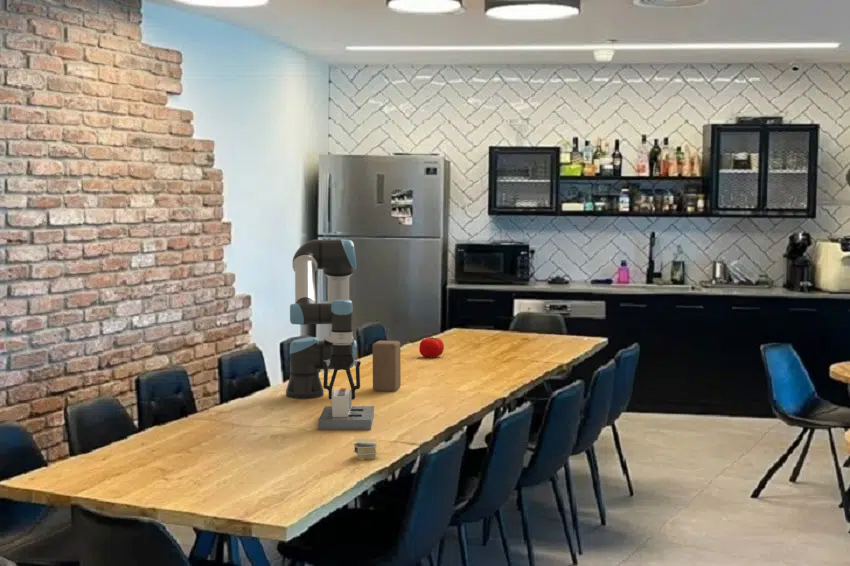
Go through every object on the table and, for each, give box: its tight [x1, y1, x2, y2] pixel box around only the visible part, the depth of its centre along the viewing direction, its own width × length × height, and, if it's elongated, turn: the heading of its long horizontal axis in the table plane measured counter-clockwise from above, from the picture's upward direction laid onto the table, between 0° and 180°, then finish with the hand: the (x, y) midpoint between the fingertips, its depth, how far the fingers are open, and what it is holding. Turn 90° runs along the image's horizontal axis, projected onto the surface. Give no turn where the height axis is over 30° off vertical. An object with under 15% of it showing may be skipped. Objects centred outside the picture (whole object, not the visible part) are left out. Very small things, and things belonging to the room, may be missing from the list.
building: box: [353, 438, 378, 461], centre depth 320 cm, size 10×9×6 cm
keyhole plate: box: [317, 405, 375, 431], centre depth 370 cm, size 18×24×4 cm
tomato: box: [418, 337, 445, 358], centre depth 525 cm, size 11×13×10 cm
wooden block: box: [372, 340, 402, 392], centre depth 435 cm, size 10×10×20 cm
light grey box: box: [331, 387, 351, 417], centre depth 370 cm, size 6×14×11 cm, turn 0°
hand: (341, 408), depth 370 cm, fingers open, 5 cm apart
